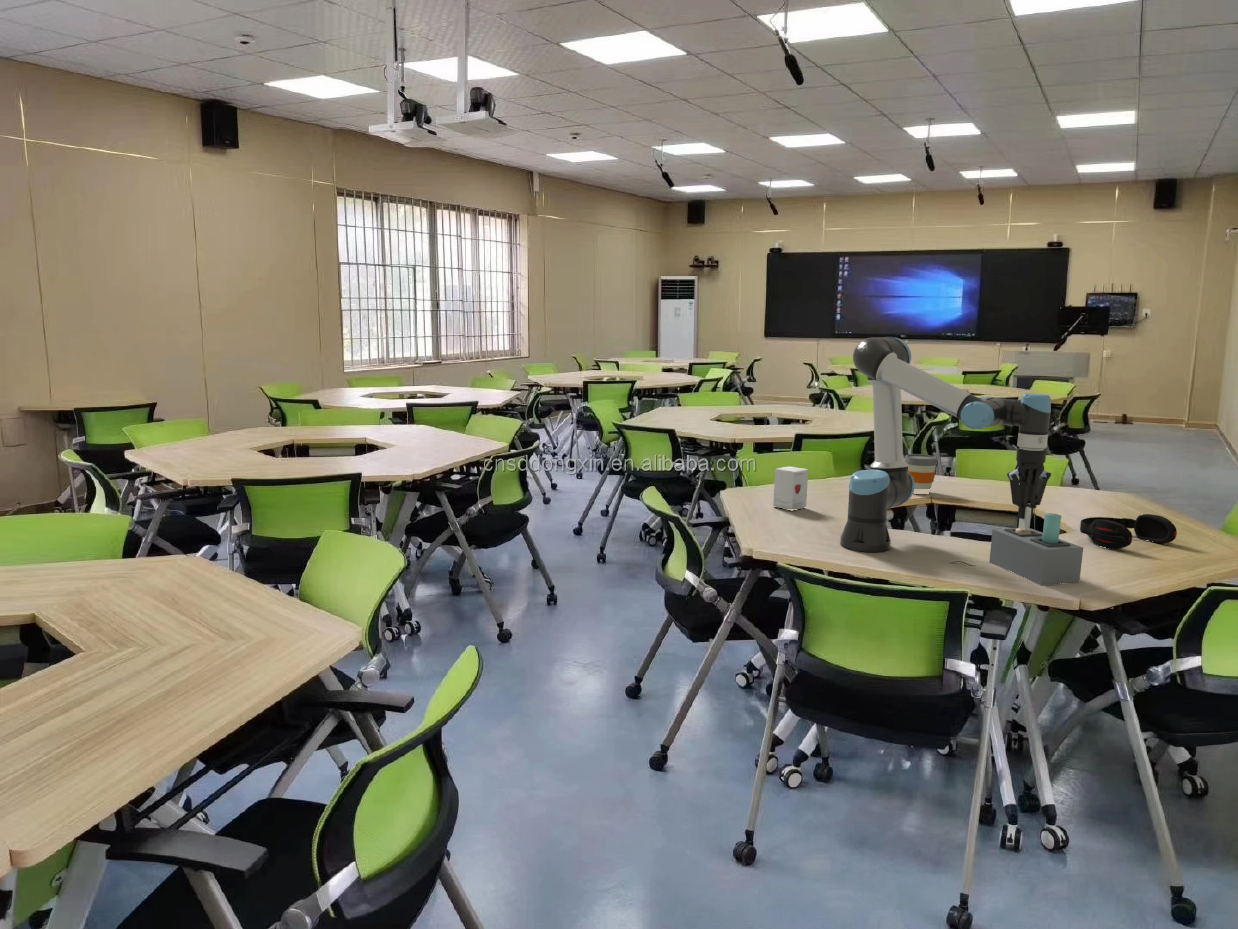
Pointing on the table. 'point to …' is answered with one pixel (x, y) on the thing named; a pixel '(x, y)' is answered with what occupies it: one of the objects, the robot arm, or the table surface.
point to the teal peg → (1051, 528)
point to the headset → (1127, 530)
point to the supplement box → (790, 487)
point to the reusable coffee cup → (921, 469)
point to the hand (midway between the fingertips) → (1023, 529)
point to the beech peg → (1023, 531)
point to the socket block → (1036, 557)
